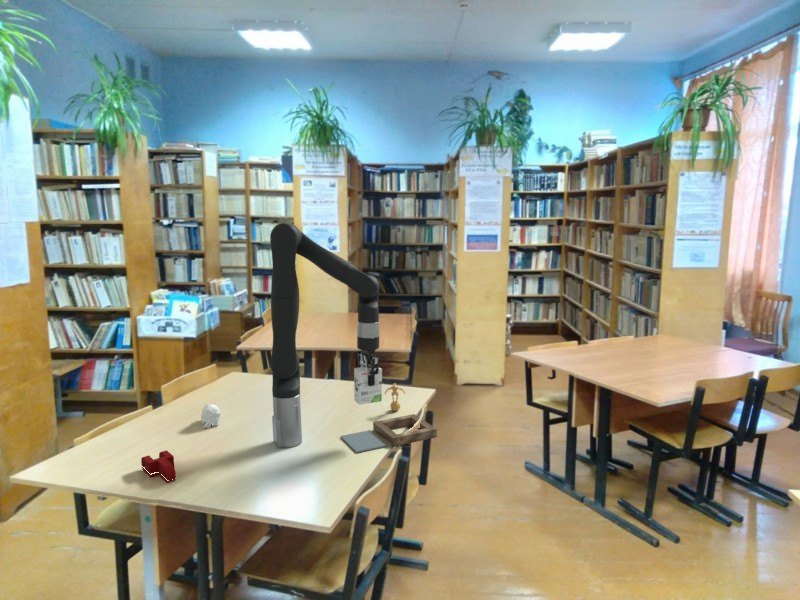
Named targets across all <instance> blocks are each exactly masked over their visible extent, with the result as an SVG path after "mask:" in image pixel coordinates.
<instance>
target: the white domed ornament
mask: <svg viewBox="0 0 800 600" xmlns="http://www.w3.org/2000/svg"><path fill="white" fill-rule="evenodd" d="M220 418H221V411H220V408H219V407H218V406H217V405H215V404H212V403H210V404H206V405H205V406H204V407H203V409H202V410H201V414H200V419H201V421H202V425H203V424H204V425H203V426H202V427H203V429H208V428H209V427H211V425H213V426H216V427H217V426H219V425H220V422H219V421H220Z"/></svg>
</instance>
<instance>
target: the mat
mask: <svg viewBox="0 0 800 600" xmlns="http://www.w3.org/2000/svg"><path fill="white" fill-rule="evenodd" d="M340 439H342V441H343V442H344V443H346V444H347V445H348V446H349V447H350V448H351V450H353V451H354V452H355V453H356V454H359V453H363V452H369V451H374V450H378V449H383V448H388V445H387V444H386V443H385V442H384V441H383V440H382V439H381V438H379V437H378V436H377V435H376V434H374V433H373V432H372V431H371V430H370V429H369V430H365V431H364V430H363V431H360V432H359V431H358V432H354V433H350V434H343V435H340Z"/></svg>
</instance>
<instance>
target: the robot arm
mask: <svg viewBox="0 0 800 600" xmlns="http://www.w3.org/2000/svg"><path fill="white" fill-rule="evenodd" d="M269 235H270V236H269V237H270V241H269V242H270V249H271V250H270V251H271V260H272V272H271V273H272V274H271V288H270V315H271V327H272V349H271V357H270V363H269V365H270V370H271V371H272V372H271V373H272V374H271V375H272V385H271V386H272V388H271V390H272V394H271V395H272V408H273V410H272V411H273V415H272V416H271V418H272V438H273V439H272V440H273V443H274V445H275V446H276V448H292V447H297V446H299V445H301V444H302V442H303V435H302V433H303V431H302V410H301V409H302V407H301V373H300V371H301V370H300V357H299V355H298V352H297V347H296V346H297V343H296V342H297V341H296V339H297V338H296V335H297V329H298V322H299V314H300V287H299V282H298V277H297V272H296V269H297V268H296V261H297V260H296V258H297V255H299V256H300V257H302V258H304V259H306V260H308V261H310V262H311V263H312V264H314V265H315V266H316V267H317V268H319V269H320V270H321V271H323V272H324V273H326V274H327V275H328V276H330V277H331V278H333V279H334V280H337V281H338V282H340V283H342V284H343V285H346V286H348V288H350V289H351V290H353V291H354V292H355V293H357V294H358V309H357V325H356V327H357V328H356V331H357V332H356V347H357V352H356V355H357V363H358V366H357V367H358V368H361V367H366V369H367V370H368V385H369V386H374V385H375V375H376V374H378V370H379V368H380V360H381V359H380V357H377V356H376V350H378V349H380V316H379V315H380V313H379V312H380V311H379V297H380V282H379V280H378V279H377V278H376V277H375V276H374V275H370V274H366V273H365V272H363V271H361V270H360V269H358V268H357V267H356V266H355V265H354V264H353V263H351V262H349V261H348V260H346V259H344V258H343V257H341V256H339V255H337V254H335V253H334V252H333V251H330V250H328V249H327V248H325V247H323V246H321V245H320V244H318V243H317V242H315V241H314V240H313V239H311V238H309V236H307V235H306V234H305V233H304V232H302V231H301V230H300V229H299V228H298V227H297V226H296V225H295V224H293V223H290V222H280V223H278V224H276V225H274V227H273V228H272V230H271V231H270V234H269ZM370 368H371V369H370ZM375 369H376V370H375Z"/></svg>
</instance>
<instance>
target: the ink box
mask: <svg viewBox="0 0 800 600" xmlns="http://www.w3.org/2000/svg"><path fill="white" fill-rule="evenodd" d="M353 369H354V371H353V375H354V377H353V379H354V380H353V381H354V382H353V383H354V384H353V386H354V387H353V388H354V389H353V390H354V391H353V395H354V396H353V397H354V398H353V400H354V402H355V403H357V404H358V405H367V404H372V403H378V402H379V403H381V402H382V399H383V395H382V392H383V388H382V387H383V368H381V367H379V370H378V374H376V375H375V385H374V386H369V385H368V370H367V369H366V367H361V368H359V367H354V368H353ZM370 369H371V368H370ZM375 370H376V369H375Z"/></svg>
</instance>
